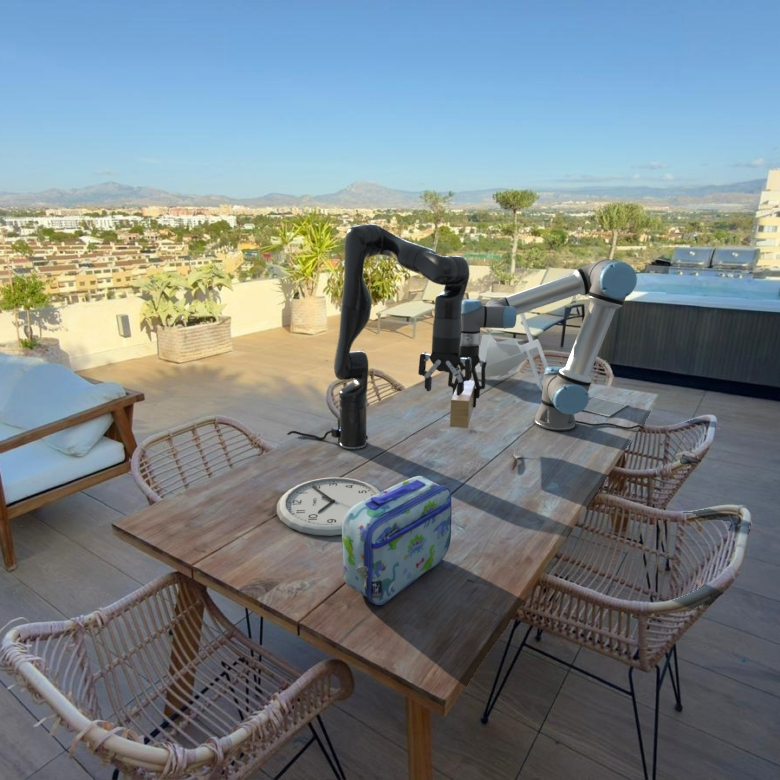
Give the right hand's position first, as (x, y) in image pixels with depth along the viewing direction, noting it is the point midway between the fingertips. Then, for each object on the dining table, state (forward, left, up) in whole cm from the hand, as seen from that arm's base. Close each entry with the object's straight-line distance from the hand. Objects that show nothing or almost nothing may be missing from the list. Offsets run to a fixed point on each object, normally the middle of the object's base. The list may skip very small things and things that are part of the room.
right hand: (465, 405), depth 192 cm
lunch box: (+15, +87, -11) cm, 89 cm away
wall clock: (+37, +59, -11) cm, 71 cm away
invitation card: (-60, -40, -11) cm, 72 cm away
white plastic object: (-22, -66, -11) cm, 70 cm away
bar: (+1, +9, -1) cm, 9 cm away
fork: (-17, +23, -11) cm, 31 cm away
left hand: (+8, +47, +19) cm, 51 cm away
